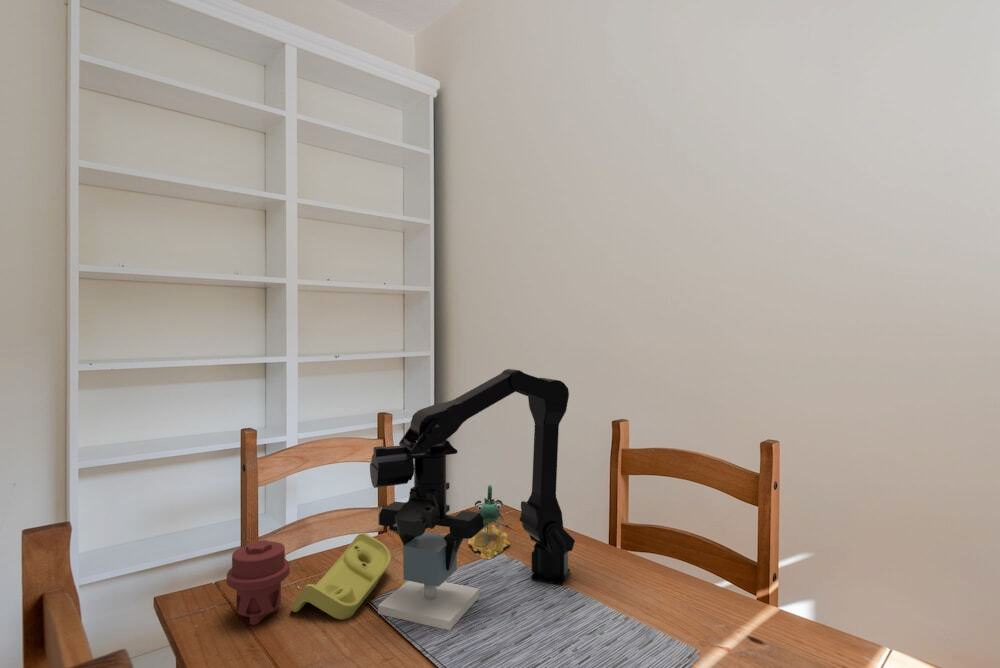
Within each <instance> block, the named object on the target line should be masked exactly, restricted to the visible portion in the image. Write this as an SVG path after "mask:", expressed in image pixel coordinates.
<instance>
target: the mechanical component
mask: <svg viewBox="0 0 1000 668" xmlns="http://www.w3.org/2000/svg"><path fill="white" fill-rule="evenodd" d="M285 547H286V546H285V545H284V544H283V543H280V542H278V541H270V540H265V539H264V540H263V539H262V540H260V539H259V540H256V541H252V542H250V543H248V544H246V545H244V546H241V547H239V548H237V549H236V550H235V551H234V552H233V553H232V554H231V568H230V569H229V570H228V571H227V573H226V585H227V586H228V587H229V588H231V589H233V590H235V591H236V613H237V614H239V615H240V616H243V617H247V618H248V617H249V625H252V626H256V625H258V624H259V623H260V622H261V621H262V620H264V618H266V617H267V616H269V615H271V614H273V613H275V612H278V611H279V608H280V605H281V602H282V595H281V594H282V587H281V586H282V585H281V583H282V582H284V580H286V578H287V577H288V576H289V575H290V573H291V564H290V562H289V560H287V559H286V556H285V555H286V554H285V552H286V551H285V549H286V548H285Z"/></svg>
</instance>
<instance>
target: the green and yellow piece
mask: <svg viewBox="0 0 1000 668" xmlns="http://www.w3.org/2000/svg"><path fill="white" fill-rule="evenodd" d="M492 497H493V486H492V485H490V484H488V486H487V498H486V497H485V498H483V500H484V502H482V501H481V500H476V502H475V503H474V506H475V507H476V509H477V513H480V514H481V516H482V517H483V521H484V528H483V529H482V530H481V531H479V532H478V533H477V534H476V535H475V536H474V537H472V538H470V539H468V542H467V544H469V545H470V546H471V547H472V548H471V549H473V551H475V552H477V551H478V552H480V558H481V559H482V560H484V559H485V560H486V559H487V560H491V559H493V558H494V557H495V556H498V555H499V554H501V553H502V552H503V551H504V548H506V547H507V546H509V545H511V543H510V542H509V540H508V539H509V538H508V537H509V536H508V533H506V532H502V530H500V528H499V527H500V522H503V527H504V528H506V525H505V519H504V518H503V516H502V515H501V513H500V511H501V510H502V508H503V506H502V505H503V501H502V500H501V499H496V501H495V498H492ZM477 504H478V505H477ZM499 518H500V519H499ZM493 523H495V524H493ZM497 523H498V524H497Z"/></svg>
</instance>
